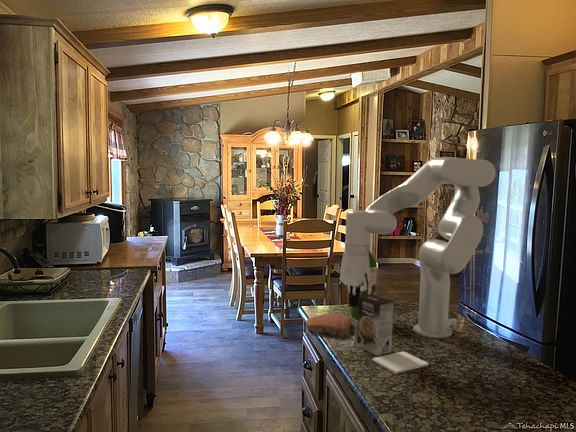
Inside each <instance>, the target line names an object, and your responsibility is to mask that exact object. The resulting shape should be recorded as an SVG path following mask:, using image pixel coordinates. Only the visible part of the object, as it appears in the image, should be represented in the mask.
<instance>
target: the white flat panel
mask: <svg viewBox="0 0 576 432" xmlns="http://www.w3.org/2000/svg"><path fill="white" fill-rule="evenodd" d="M372 362H374V363H375V364H378V365H380V366H382V367H383V368H386V370H389V371H391V372H393V373H395V374H400V373H403V372H407V371H411V370H416V369H419V368H420V369H421V368H424V367H427V366H429V362H427V361H425V360H423V359H420V358H419V357H416V356H414V355H412V354H410V353H408V352H406V351H404V350H403V351H402V350H401V351H400V352H399V351H398V352H395V353H390V354H389V353H388V354H384V355H380V356H376V357H373V358H372Z"/></svg>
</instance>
